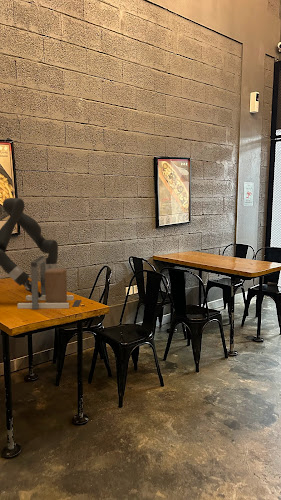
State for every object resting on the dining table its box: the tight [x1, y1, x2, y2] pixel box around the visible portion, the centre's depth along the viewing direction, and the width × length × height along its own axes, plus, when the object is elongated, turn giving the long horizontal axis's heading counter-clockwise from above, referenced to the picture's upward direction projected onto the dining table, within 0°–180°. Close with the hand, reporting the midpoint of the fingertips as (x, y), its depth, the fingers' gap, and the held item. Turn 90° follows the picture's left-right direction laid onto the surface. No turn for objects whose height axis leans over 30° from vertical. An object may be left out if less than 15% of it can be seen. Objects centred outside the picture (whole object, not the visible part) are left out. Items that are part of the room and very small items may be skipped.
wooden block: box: [45, 268, 68, 303], centre depth 222 cm, size 10×10×20 cm
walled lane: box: [17, 294, 74, 309], centre depth 224 cm, size 20×28×2 cm
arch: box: [30, 255, 47, 310], centre depth 222 cm, size 24×3×26 cm, turn 2°
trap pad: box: [71, 299, 82, 308], centre depth 224 cm, size 14×4×1 cm, turn 2°
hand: (41, 296), depth 223 cm, fingers closed
